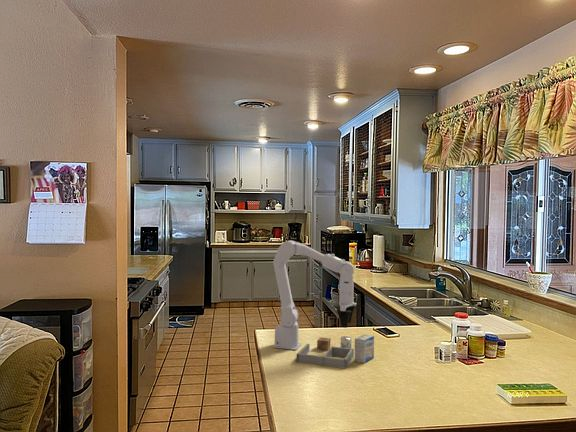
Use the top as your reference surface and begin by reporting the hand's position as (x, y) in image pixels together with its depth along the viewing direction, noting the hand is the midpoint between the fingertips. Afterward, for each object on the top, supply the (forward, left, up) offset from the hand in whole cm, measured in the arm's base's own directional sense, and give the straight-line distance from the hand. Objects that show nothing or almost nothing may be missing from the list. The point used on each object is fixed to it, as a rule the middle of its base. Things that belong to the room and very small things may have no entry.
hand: (346, 324), depth 186 cm
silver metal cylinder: (0, 0, -10) cm, 10 cm away
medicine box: (+9, -9, -10) cm, 16 cm away
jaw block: (-9, -2, -10) cm, 14 cm away
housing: (-5, -14, -10) cm, 18 cm away
